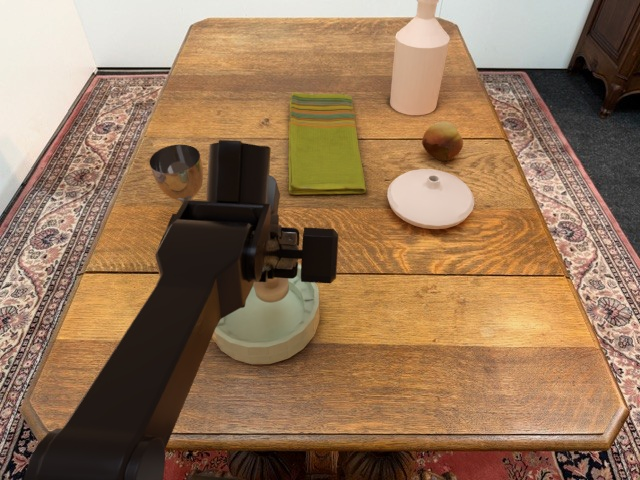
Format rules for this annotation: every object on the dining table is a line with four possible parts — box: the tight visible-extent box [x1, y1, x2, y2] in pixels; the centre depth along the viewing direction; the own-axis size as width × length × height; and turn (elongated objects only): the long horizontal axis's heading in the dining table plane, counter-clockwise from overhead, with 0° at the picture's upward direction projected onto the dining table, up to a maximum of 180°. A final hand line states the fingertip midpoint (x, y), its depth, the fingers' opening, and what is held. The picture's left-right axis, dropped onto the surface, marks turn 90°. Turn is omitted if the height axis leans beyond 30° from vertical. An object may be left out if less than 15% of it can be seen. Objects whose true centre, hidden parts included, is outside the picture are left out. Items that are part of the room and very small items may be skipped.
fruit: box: [421, 120, 464, 162], centre depth 97 cm, size 8×8×8 cm
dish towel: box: [288, 92, 367, 195], centre depth 103 cm, size 15×36×3 cm, turn 2°
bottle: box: [389, 0, 451, 116], centre depth 107 cm, size 12×12×25 cm
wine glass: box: [149, 144, 204, 204], centre depth 81 cm, size 8×8×15 cm
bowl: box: [211, 263, 320, 365], centre depth 70 cm, size 16×16×5 cm
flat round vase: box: [386, 168, 475, 230], centre depth 86 cm, size 16×16×7 cm
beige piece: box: [254, 278, 289, 303], centre depth 62 cm, size 5×5×13 cm
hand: (269, 250), depth 63 cm, fingers closed on beige piece, 2 cm apart
